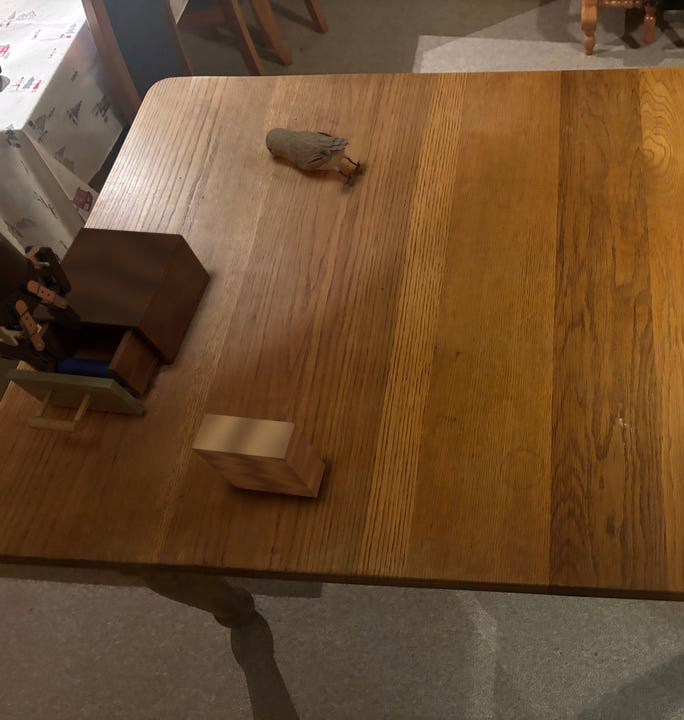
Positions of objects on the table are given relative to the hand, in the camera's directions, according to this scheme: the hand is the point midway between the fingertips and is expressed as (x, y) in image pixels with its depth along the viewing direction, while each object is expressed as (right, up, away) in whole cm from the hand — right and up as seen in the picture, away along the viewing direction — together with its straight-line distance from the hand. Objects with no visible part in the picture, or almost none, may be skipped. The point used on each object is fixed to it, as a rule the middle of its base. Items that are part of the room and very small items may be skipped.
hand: (65, 343), depth 78 cm
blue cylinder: (+1, -4, +7) cm, 8 cm away
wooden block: (+26, -16, 0) cm, 30 cm away
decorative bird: (+23, +28, +27) cm, 45 cm away
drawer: (+1, -5, +8) cm, 9 cm away
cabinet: (+2, +4, +14) cm, 15 cm away
